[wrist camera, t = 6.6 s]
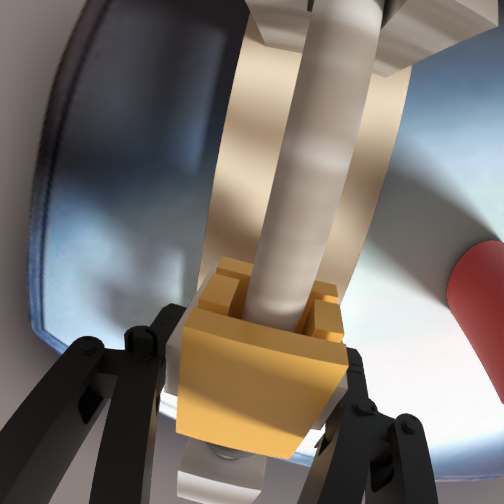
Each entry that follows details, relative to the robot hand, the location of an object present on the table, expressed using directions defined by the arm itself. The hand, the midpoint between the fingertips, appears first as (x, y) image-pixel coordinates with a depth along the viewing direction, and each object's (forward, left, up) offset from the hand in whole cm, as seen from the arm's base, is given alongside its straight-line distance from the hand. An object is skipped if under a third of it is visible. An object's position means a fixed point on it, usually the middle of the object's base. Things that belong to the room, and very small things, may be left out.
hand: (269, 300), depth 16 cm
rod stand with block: (-2, 0, -4) cm, 5 cm away
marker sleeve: (0, 0, +2) cm, 2 cm away
